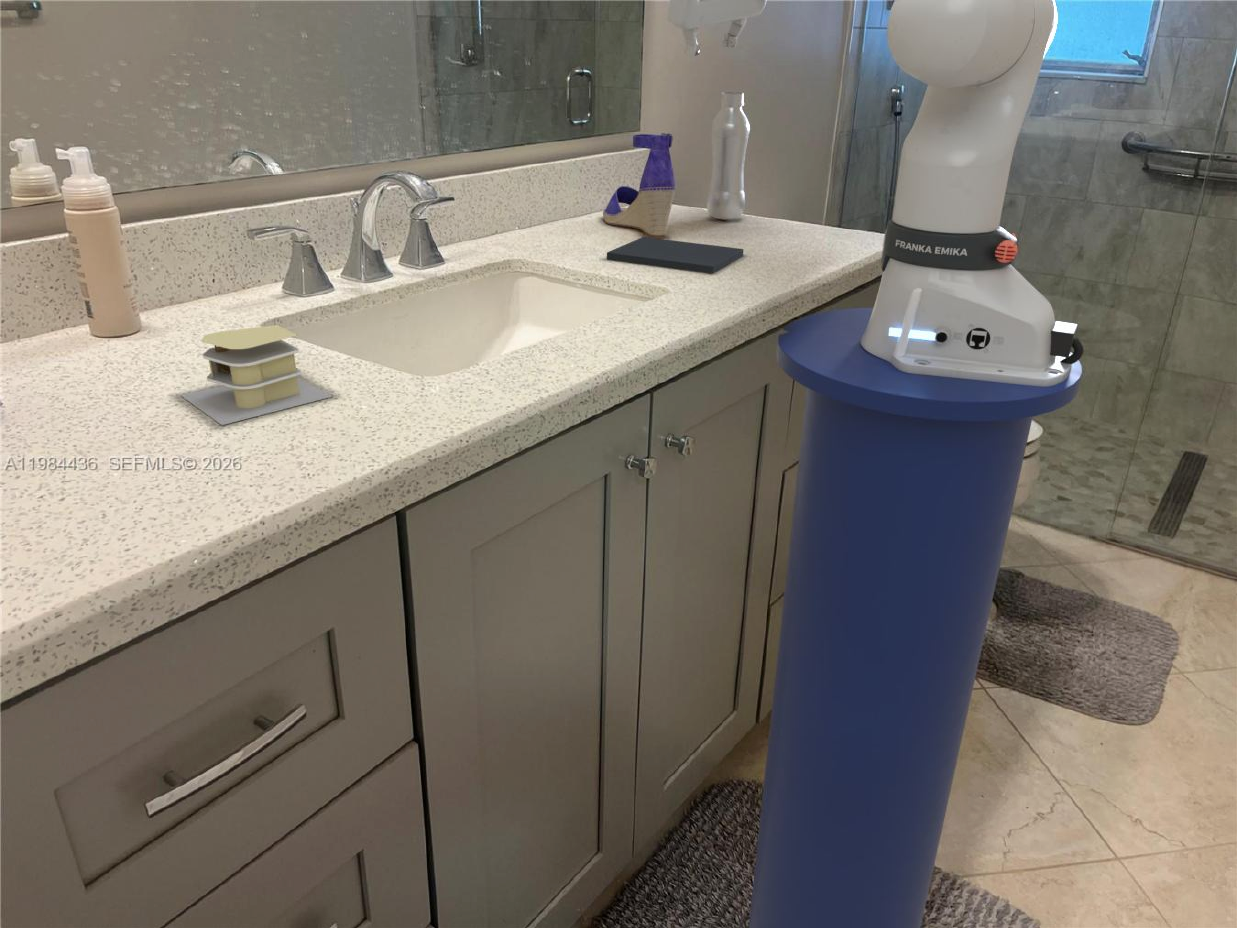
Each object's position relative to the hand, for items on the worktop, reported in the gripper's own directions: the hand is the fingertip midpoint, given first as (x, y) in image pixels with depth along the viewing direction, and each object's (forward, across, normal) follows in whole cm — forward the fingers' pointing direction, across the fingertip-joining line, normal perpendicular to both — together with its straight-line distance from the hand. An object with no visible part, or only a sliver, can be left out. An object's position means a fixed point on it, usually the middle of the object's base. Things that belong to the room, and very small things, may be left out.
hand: (710, 50), depth 152 cm
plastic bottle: (+24, -2, -11) cm, 27 cm away
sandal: (+24, -19, -5) cm, 31 cm away
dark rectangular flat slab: (+18, -29, -23) cm, 41 cm away
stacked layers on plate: (+7, -97, -31) cm, 102 cm away
